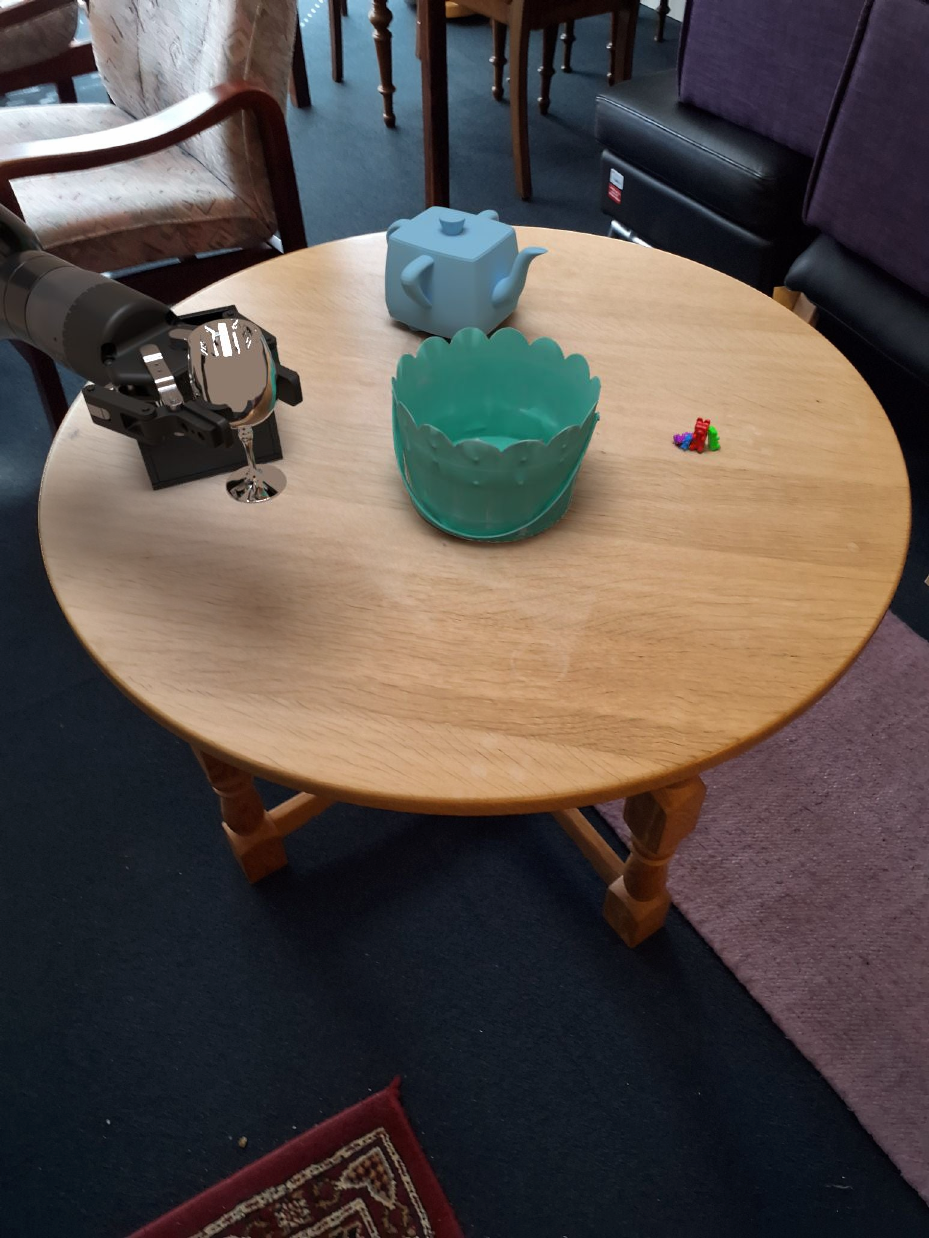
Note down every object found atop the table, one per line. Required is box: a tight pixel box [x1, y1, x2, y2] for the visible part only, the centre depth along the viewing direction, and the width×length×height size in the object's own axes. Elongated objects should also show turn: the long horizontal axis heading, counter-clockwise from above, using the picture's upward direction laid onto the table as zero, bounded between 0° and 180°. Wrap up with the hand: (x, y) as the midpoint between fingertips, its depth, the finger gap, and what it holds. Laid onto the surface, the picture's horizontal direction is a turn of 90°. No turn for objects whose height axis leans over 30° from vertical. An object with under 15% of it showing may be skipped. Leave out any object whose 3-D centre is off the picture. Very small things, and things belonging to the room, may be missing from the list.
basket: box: [390, 327, 602, 544], centre depth 86 cm, size 19×18×13 cm
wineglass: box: [187, 319, 288, 504], centre depth 62 cm, size 6×6×12 cm
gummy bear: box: [672, 417, 721, 453], centre depth 94 cm, size 5×3×4 cm, turn 65°
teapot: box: [384, 206, 549, 341], centre depth 109 cm, size 18×16×14 cm
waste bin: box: [136, 304, 284, 491], centre depth 93 cm, size 14×14×11 cm
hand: (263, 413), depth 60 cm, fingers closed on wineglass, 5 cm apart
